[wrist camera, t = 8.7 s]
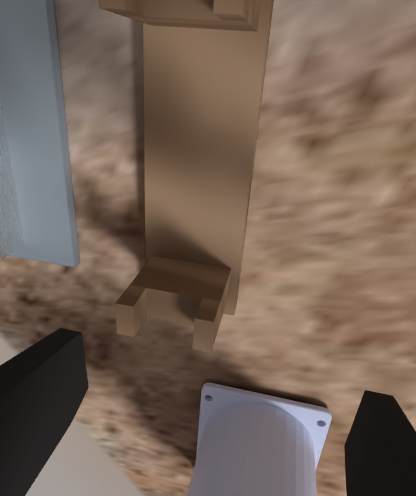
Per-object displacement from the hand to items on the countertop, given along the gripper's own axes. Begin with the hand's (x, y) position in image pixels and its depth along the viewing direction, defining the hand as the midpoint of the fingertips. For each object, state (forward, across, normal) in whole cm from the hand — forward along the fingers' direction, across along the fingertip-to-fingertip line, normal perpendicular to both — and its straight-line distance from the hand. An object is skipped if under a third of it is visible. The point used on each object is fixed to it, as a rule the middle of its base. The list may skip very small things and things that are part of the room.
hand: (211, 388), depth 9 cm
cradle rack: (+10, +3, -3) cm, 11 cm away
